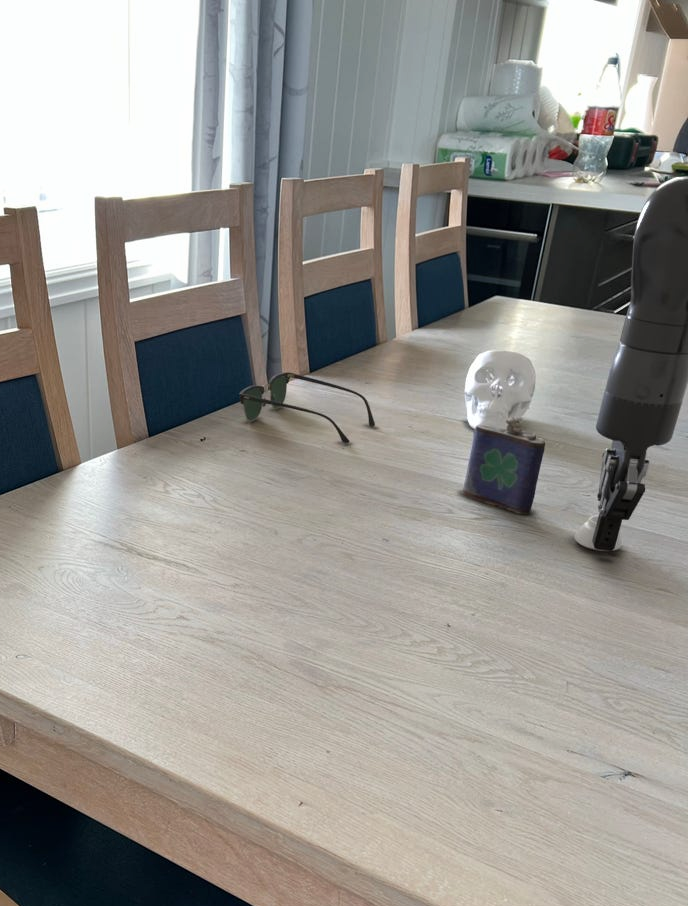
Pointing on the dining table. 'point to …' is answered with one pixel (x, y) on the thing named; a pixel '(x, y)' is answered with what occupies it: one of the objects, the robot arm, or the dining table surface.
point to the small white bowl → (591, 534)
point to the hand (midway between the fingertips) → (602, 547)
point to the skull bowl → (499, 388)
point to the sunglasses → (278, 388)
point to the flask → (504, 466)
